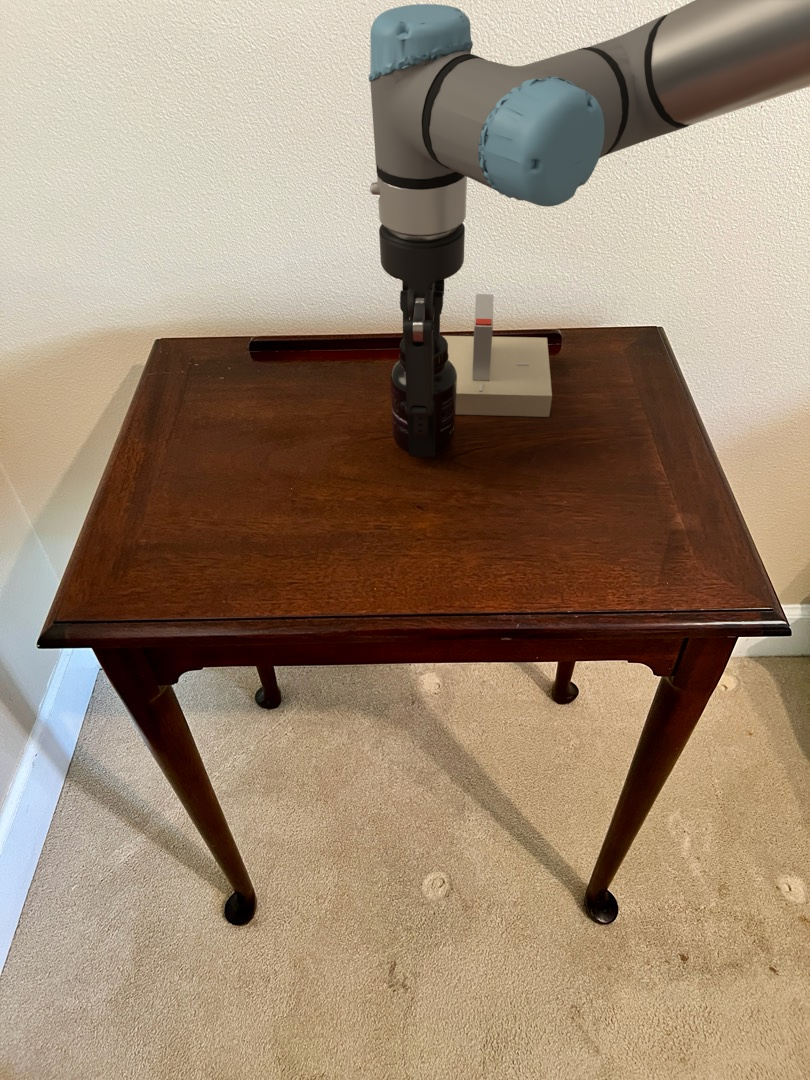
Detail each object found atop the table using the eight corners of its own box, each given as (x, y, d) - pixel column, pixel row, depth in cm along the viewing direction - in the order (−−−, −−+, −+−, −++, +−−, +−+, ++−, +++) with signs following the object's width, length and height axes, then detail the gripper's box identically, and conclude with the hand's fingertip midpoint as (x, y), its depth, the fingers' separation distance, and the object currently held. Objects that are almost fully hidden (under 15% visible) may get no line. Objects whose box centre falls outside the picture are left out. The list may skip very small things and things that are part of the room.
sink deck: (544, 358, 96) (547, 336, 93) (549, 417, 87) (552, 394, 85) (417, 355, 97) (417, 333, 95) (410, 413, 89) (410, 390, 86)
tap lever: (473, 346, 92) (475, 291, 87) (490, 347, 92) (493, 292, 87) (471, 380, 88) (474, 324, 82) (489, 380, 87) (492, 324, 82)
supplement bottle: (383, 450, 82) (377, 354, 74) (406, 413, 87) (403, 319, 78) (442, 464, 80) (443, 368, 72) (463, 426, 85) (467, 331, 76)
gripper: (389, 176, 73) (397, 377, 90) (365, 277, 60) (380, 492, 76) (467, 177, 73) (461, 379, 89) (461, 279, 59) (455, 494, 76)
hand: (424, 431), depth 83 cm, fingers closed on supplement bottle, 7 cm apart
